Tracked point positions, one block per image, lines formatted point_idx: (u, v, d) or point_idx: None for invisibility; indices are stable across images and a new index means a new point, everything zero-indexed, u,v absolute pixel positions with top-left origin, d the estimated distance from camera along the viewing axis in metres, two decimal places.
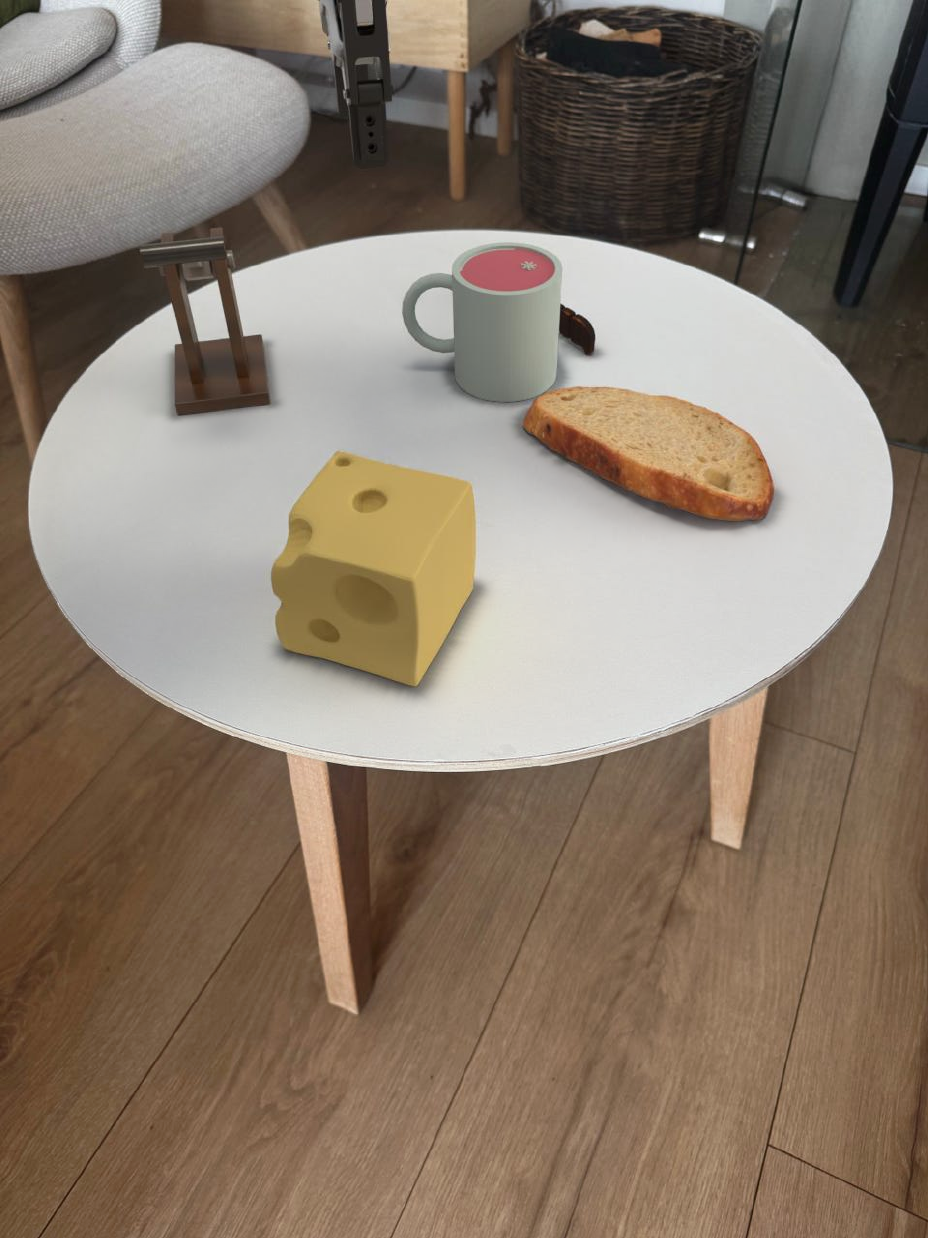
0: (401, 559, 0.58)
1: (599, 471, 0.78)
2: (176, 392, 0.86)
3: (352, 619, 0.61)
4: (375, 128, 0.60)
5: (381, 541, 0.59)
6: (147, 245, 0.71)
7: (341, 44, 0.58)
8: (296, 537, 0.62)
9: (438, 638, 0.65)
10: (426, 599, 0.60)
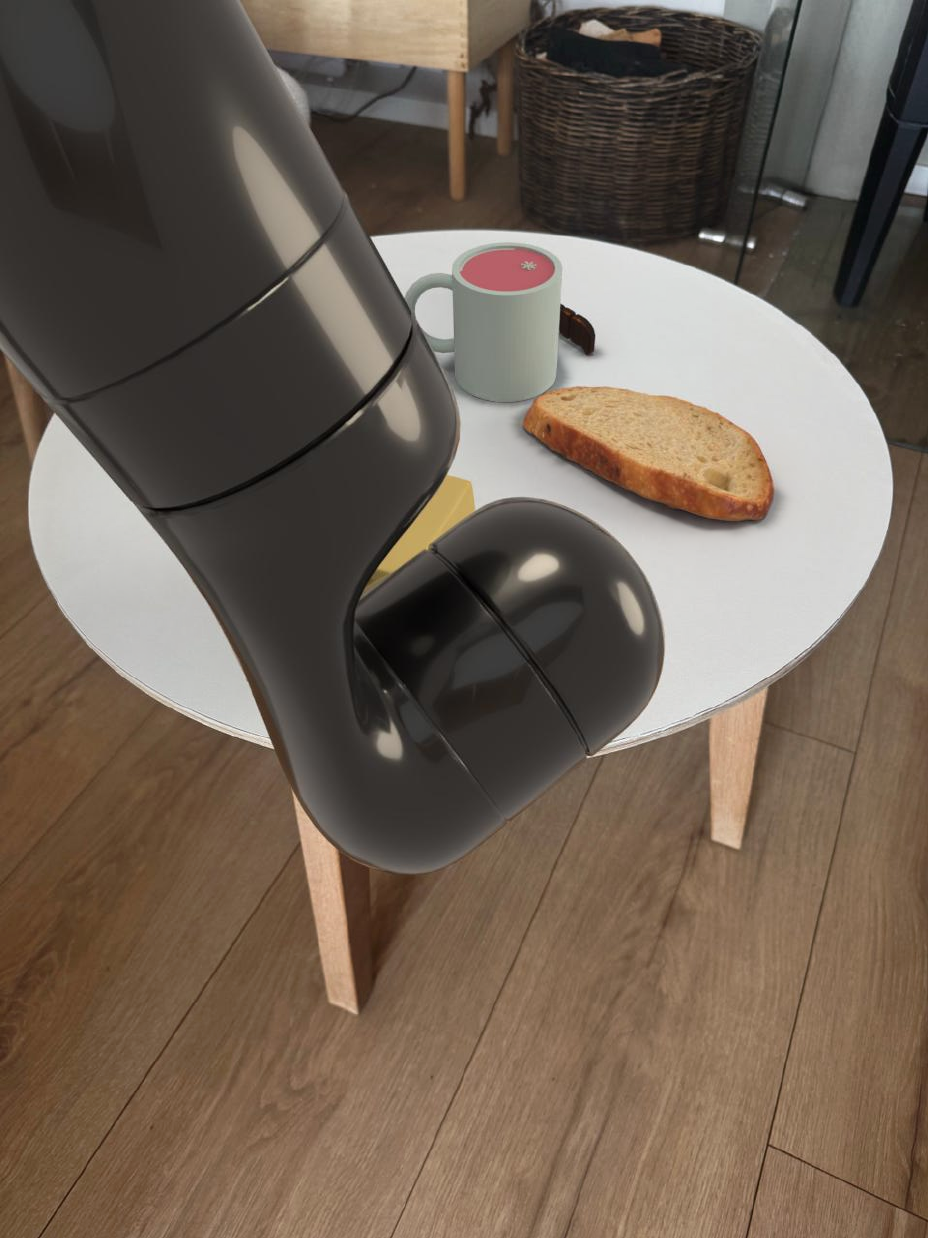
0: (401, 558, 0.58)
1: (599, 471, 0.78)
2: None
3: None
4: None
5: None
6: None
7: None
8: None
9: None
10: None
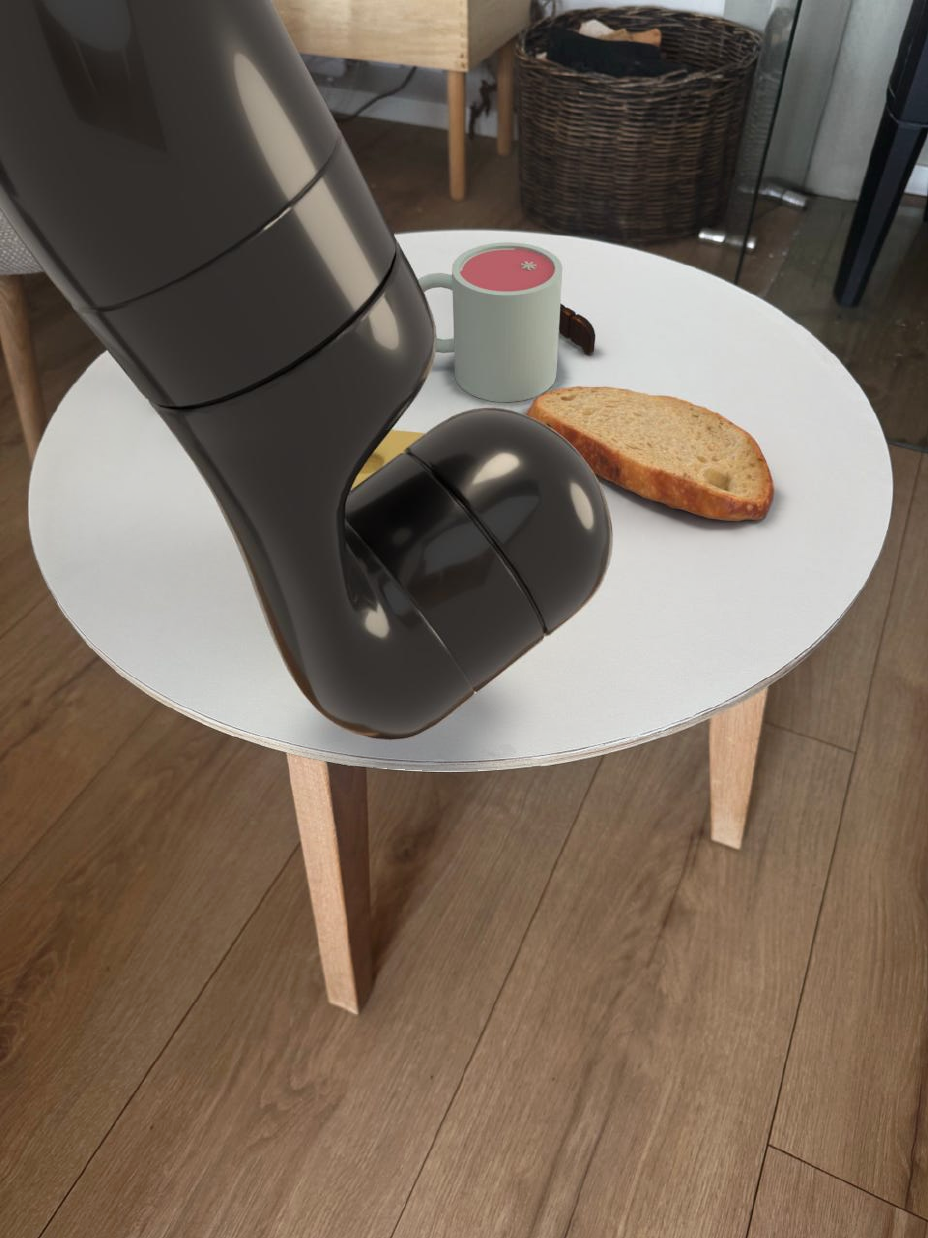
0: None
1: (599, 471, 0.78)
2: None
3: None
4: None
5: None
6: None
7: None
8: None
9: None
10: None
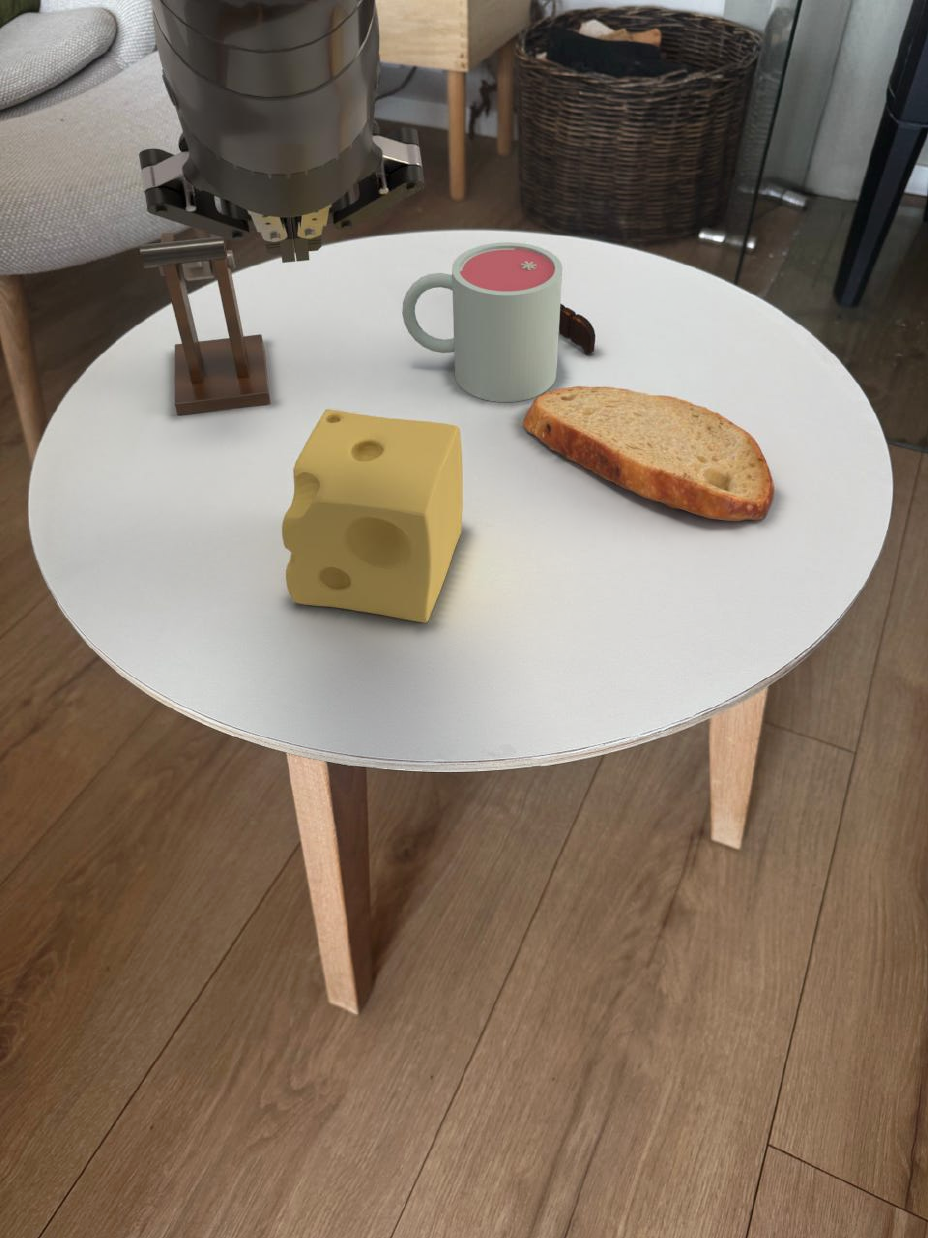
0: (410, 497, 0.62)
1: (599, 471, 0.78)
2: (176, 392, 0.86)
3: (364, 562, 0.65)
4: None
5: (388, 484, 0.63)
6: (147, 245, 0.71)
7: None
8: (302, 491, 0.65)
9: (441, 576, 0.69)
10: (434, 535, 0.64)
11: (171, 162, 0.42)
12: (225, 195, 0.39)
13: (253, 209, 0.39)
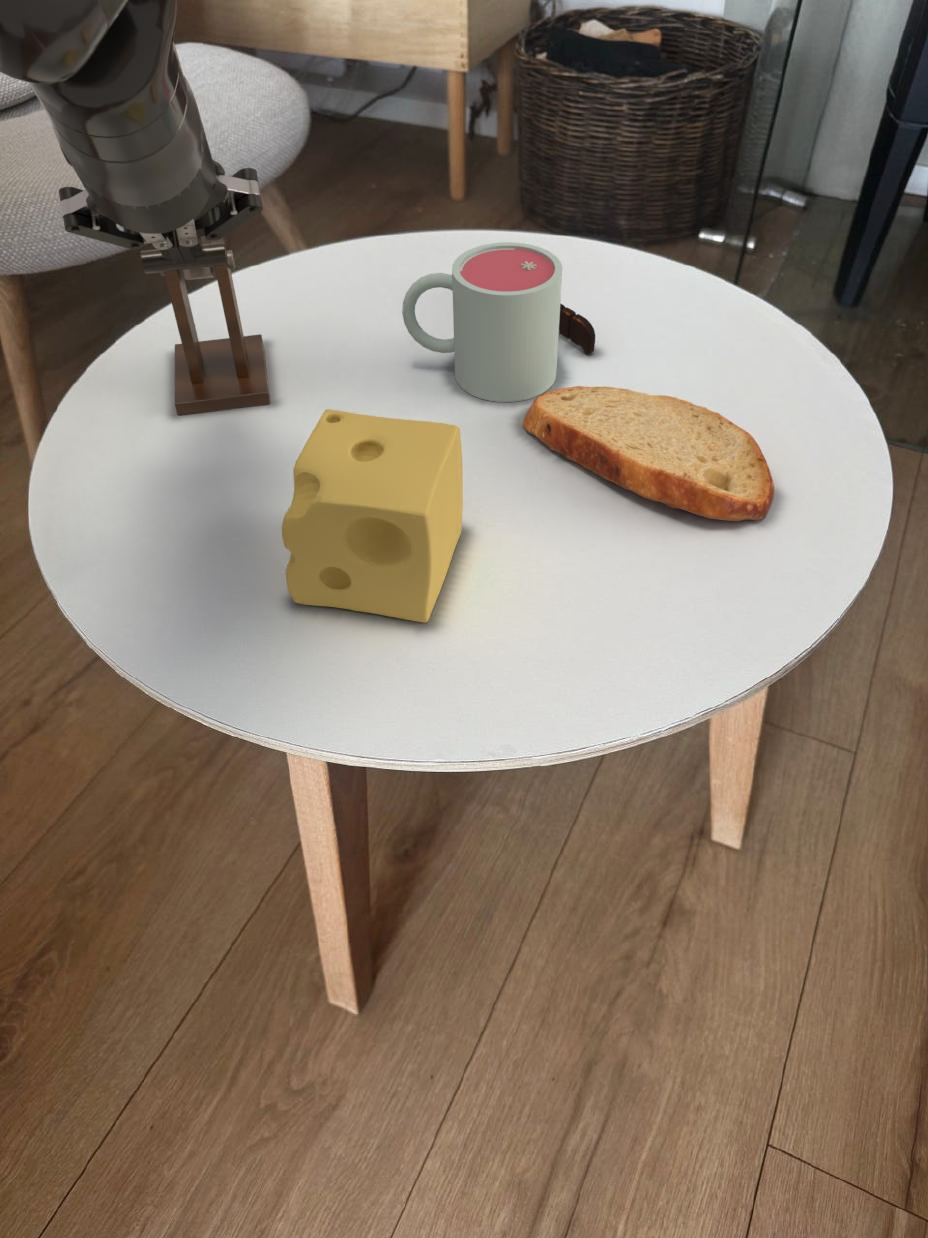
0: (410, 497, 0.62)
1: (599, 471, 0.78)
2: (176, 392, 0.86)
3: (364, 562, 0.65)
4: None
5: (388, 484, 0.63)
6: (148, 251, 0.71)
7: None
8: (302, 491, 0.65)
9: (441, 576, 0.69)
10: (434, 535, 0.64)
11: (80, 196, 0.61)
12: (111, 219, 0.58)
13: (131, 228, 0.58)
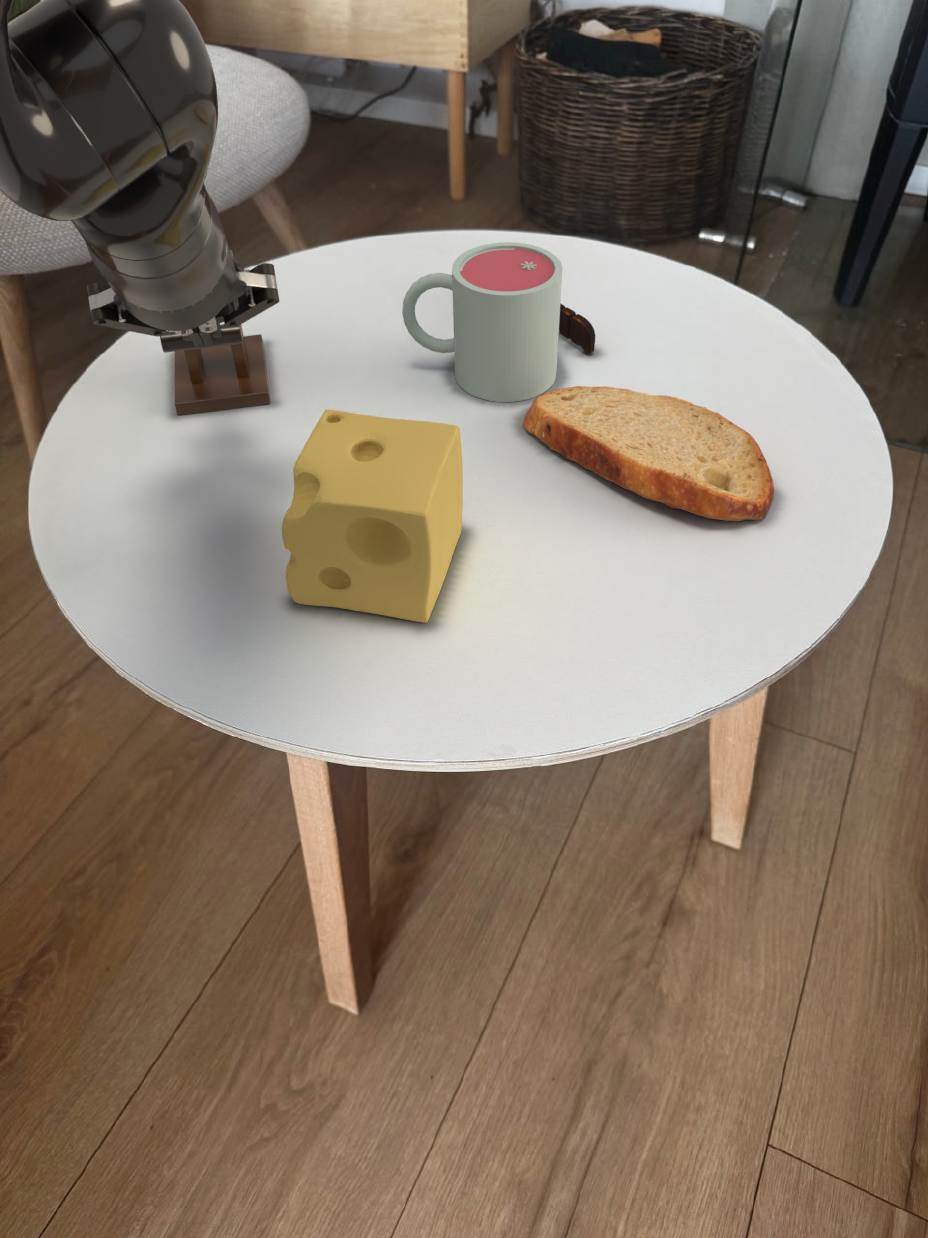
0: (410, 498, 0.62)
1: (599, 471, 0.78)
2: (176, 392, 0.86)
3: (364, 563, 0.65)
4: None
5: (388, 484, 0.63)
6: (168, 337, 0.75)
7: None
8: (302, 491, 0.65)
9: (441, 576, 0.69)
10: (434, 535, 0.64)
11: (107, 292, 0.64)
12: (138, 318, 0.61)
13: (156, 327, 0.61)
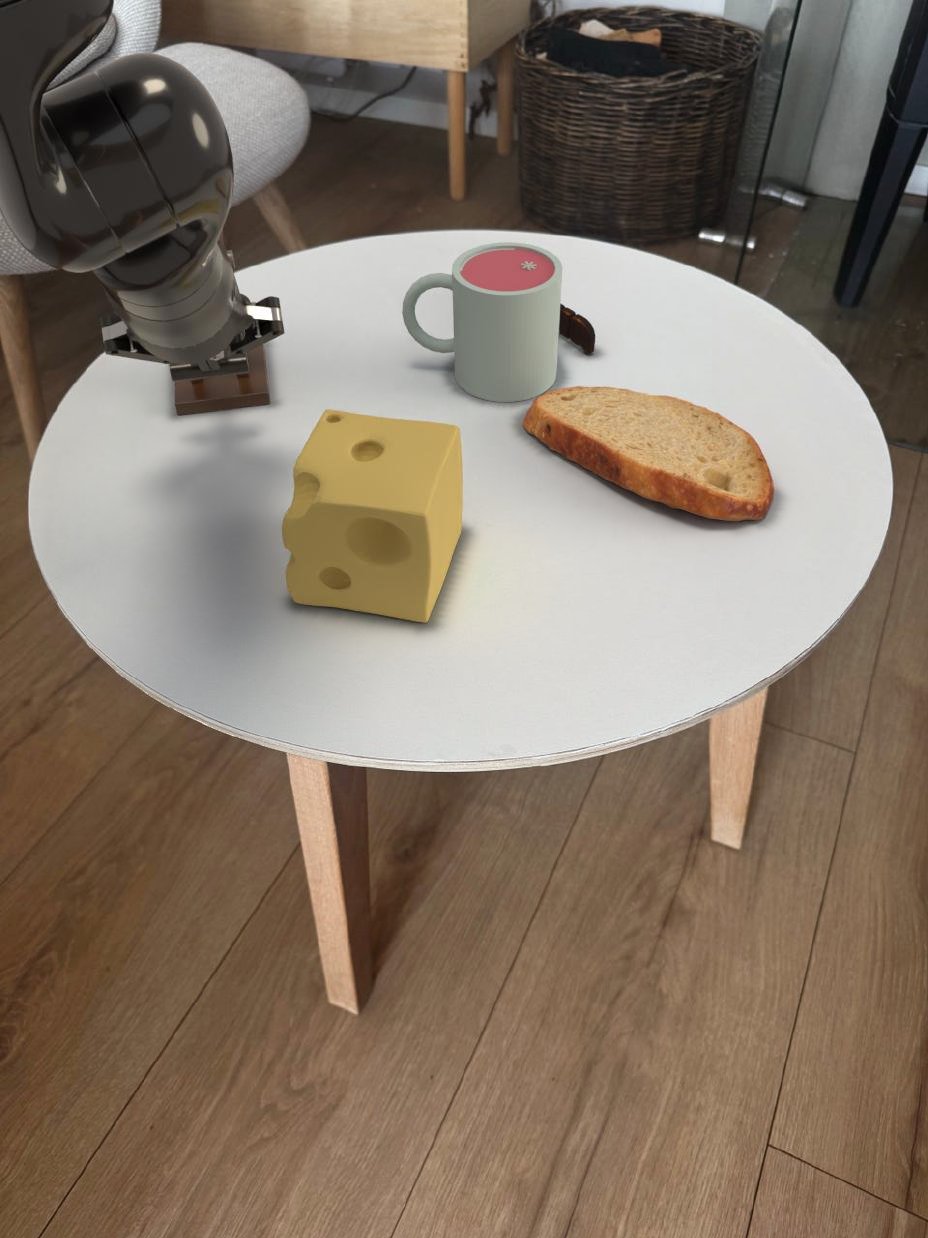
0: (410, 498, 0.62)
1: (599, 471, 0.78)
2: (176, 392, 0.86)
3: (364, 563, 0.65)
4: None
5: (388, 484, 0.63)
6: (178, 371, 0.78)
7: None
8: (302, 491, 0.65)
9: (441, 576, 0.69)
10: (434, 535, 0.64)
11: (120, 325, 0.67)
12: (150, 352, 0.64)
13: (168, 360, 0.64)
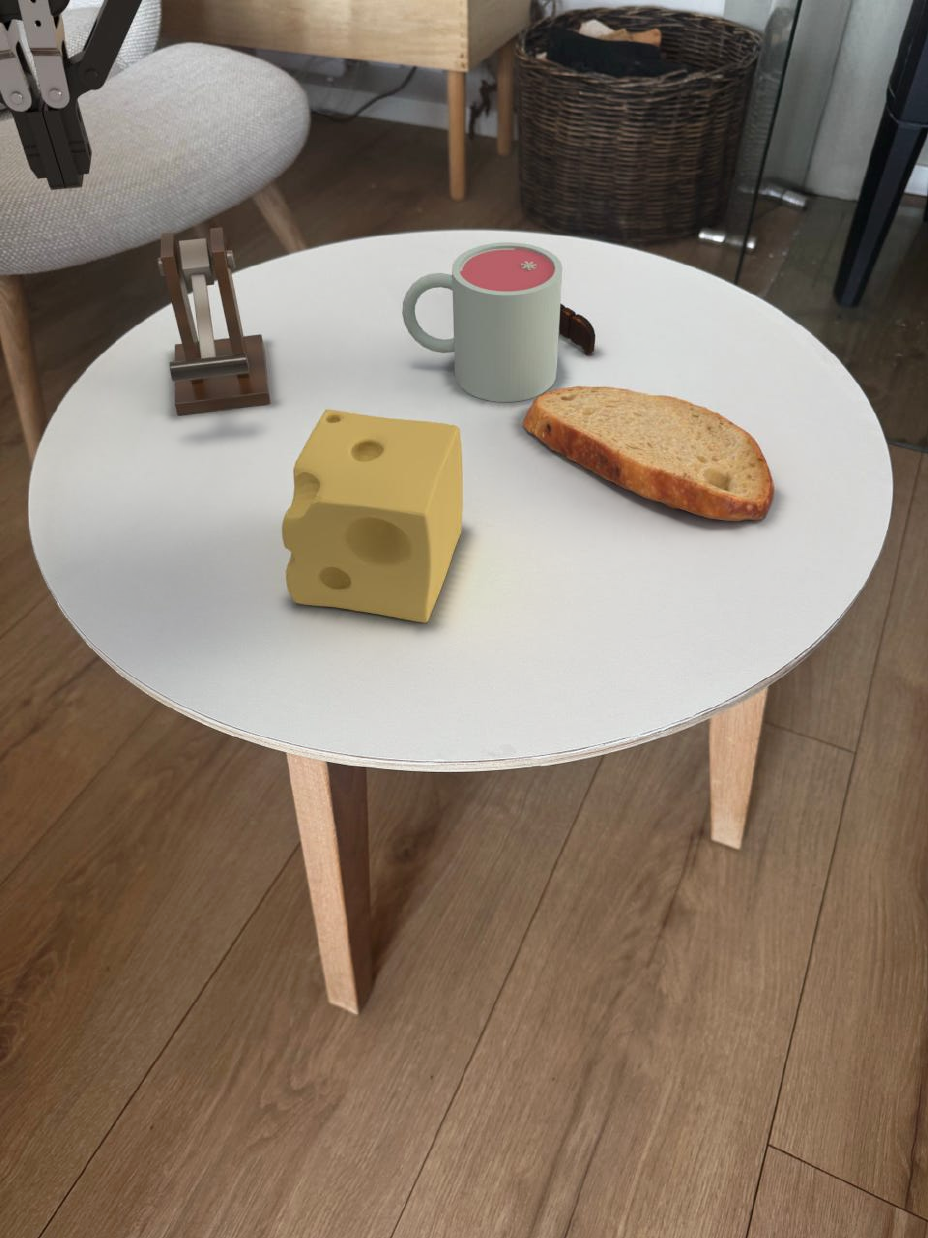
0: (410, 497, 0.62)
1: (599, 471, 0.78)
2: (176, 392, 0.86)
3: (364, 562, 0.65)
4: None
5: (388, 484, 0.63)
6: (178, 371, 0.78)
7: None
8: (302, 491, 0.65)
9: (441, 576, 0.69)
10: (434, 535, 0.64)
11: None
12: None
13: None
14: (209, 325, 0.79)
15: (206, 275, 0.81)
